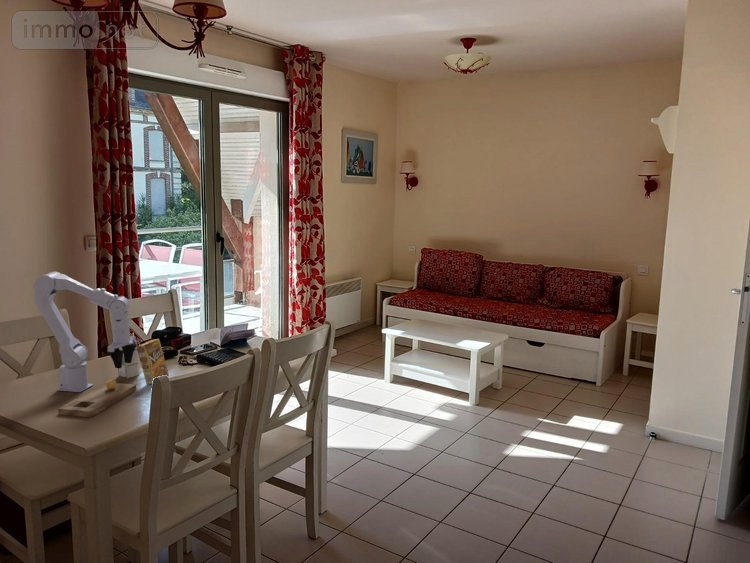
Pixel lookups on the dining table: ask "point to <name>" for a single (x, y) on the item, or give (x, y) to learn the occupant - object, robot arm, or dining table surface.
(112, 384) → the ball
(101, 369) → the dining table surface
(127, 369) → the syrup box
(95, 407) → the hole board
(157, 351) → the candy box
